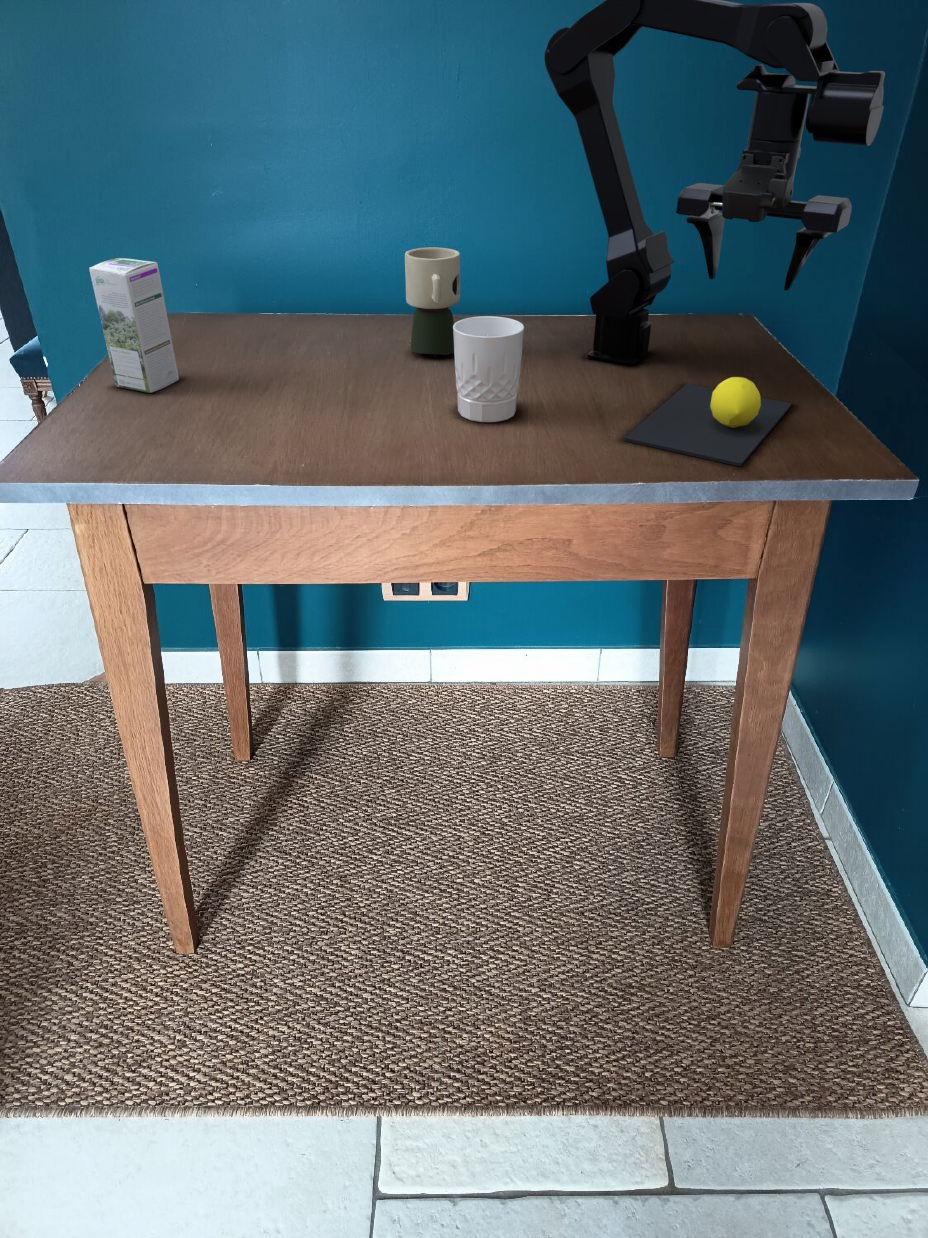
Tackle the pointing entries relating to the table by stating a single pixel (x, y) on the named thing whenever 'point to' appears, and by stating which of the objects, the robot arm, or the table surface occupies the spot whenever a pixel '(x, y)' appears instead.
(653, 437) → the desk mat
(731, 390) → the lemon
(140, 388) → the syrup box
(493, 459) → the table surface
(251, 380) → the table surface
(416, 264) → the character mug
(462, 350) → the white cup
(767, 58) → the robot arm
